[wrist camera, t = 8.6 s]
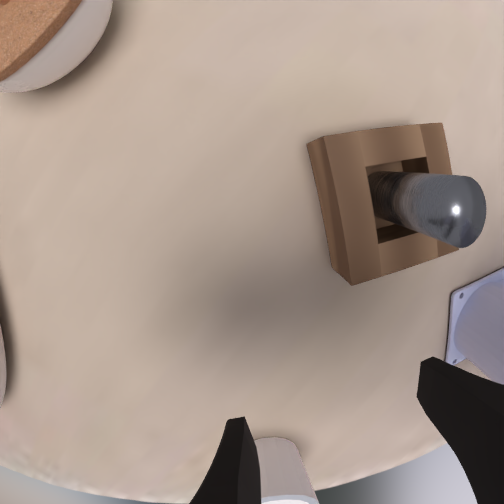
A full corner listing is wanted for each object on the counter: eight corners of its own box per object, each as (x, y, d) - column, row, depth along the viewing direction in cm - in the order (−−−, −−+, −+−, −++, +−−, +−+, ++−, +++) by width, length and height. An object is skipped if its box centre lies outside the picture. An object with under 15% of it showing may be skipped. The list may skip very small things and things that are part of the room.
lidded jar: (121, 93, 16) (43, 38, 6) (4, 118, 15) (-82, 107, 6) (144, -27, 13) (110, -104, 4) (31, 7, 12) (-28, -34, 3)
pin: (395, 167, 17) (482, 171, 9) (403, 211, 18) (487, 237, 10) (356, 176, 17) (435, 182, 9) (365, 222, 18) (442, 256, 10)
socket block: (412, 128, 17) (442, 122, 14) (429, 238, 19) (458, 249, 16) (306, 144, 17) (323, 136, 14) (332, 267, 19) (351, 285, 16)
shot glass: (313, 433, 23) (331, 492, 16) (293, 472, 24) (304, 525, 18) (237, 430, 22) (240, 495, 15) (226, 470, 24) (227, 526, 17)
